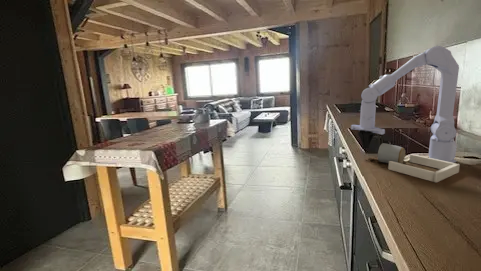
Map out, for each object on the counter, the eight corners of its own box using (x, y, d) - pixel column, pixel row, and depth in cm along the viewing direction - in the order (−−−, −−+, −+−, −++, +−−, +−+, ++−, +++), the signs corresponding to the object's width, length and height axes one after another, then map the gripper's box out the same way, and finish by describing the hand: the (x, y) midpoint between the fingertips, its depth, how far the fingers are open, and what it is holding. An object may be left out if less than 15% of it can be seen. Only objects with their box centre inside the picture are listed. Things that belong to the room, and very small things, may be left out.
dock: (411, 161, 105) (411, 154, 105) (458, 172, 92) (459, 164, 91) (388, 169, 98) (388, 161, 97) (436, 182, 85) (437, 173, 84)
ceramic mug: (399, 167, 99) (401, 148, 97) (376, 163, 105) (377, 144, 103) (407, 161, 106) (409, 142, 105) (385, 157, 112) (386, 140, 110)
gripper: (346, 116, 115) (345, 146, 118) (378, 120, 103) (375, 153, 106) (357, 114, 118) (355, 143, 121) (388, 117, 106) (386, 150, 109)
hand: (365, 147), depth 114 cm, fingers closed
